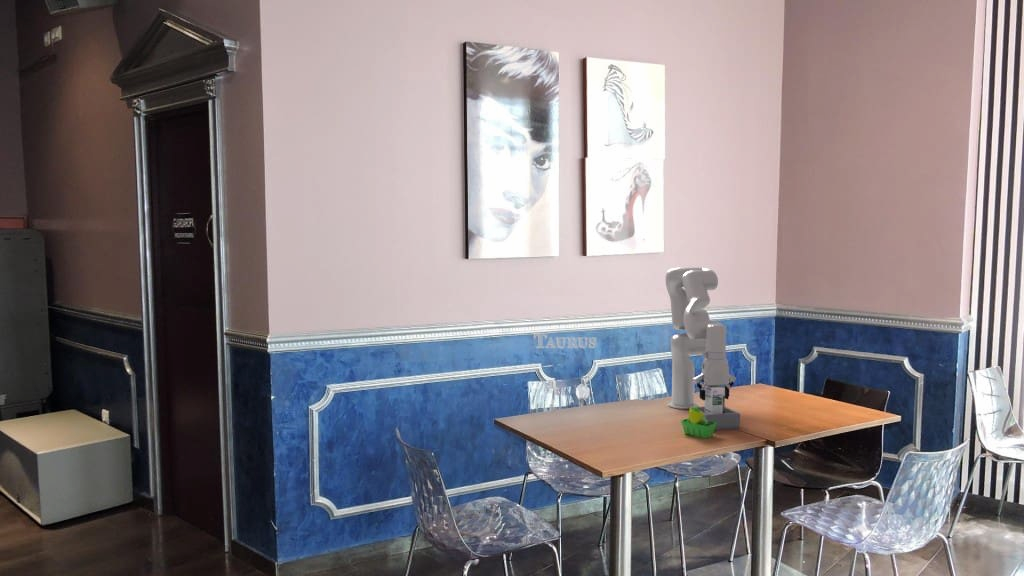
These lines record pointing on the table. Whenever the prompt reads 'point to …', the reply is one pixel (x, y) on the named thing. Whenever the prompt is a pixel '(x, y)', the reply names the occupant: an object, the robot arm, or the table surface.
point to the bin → (723, 419)
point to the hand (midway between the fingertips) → (714, 399)
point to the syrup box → (715, 400)
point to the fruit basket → (698, 424)
